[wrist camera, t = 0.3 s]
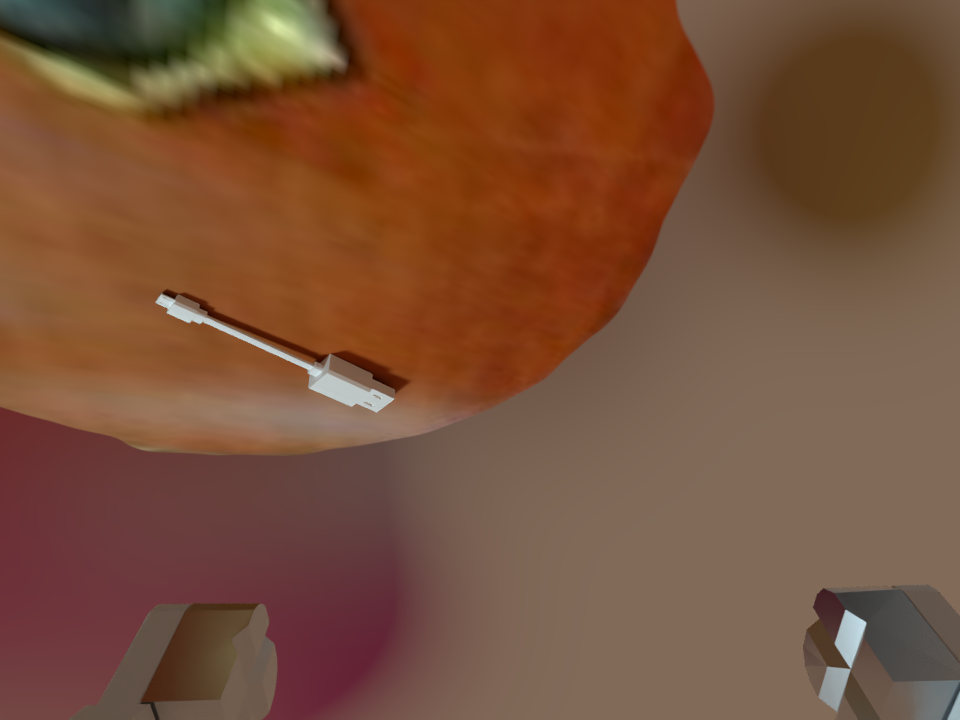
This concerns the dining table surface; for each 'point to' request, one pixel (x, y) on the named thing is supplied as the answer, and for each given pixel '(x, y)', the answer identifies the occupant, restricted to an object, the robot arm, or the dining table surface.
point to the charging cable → (300, 362)
